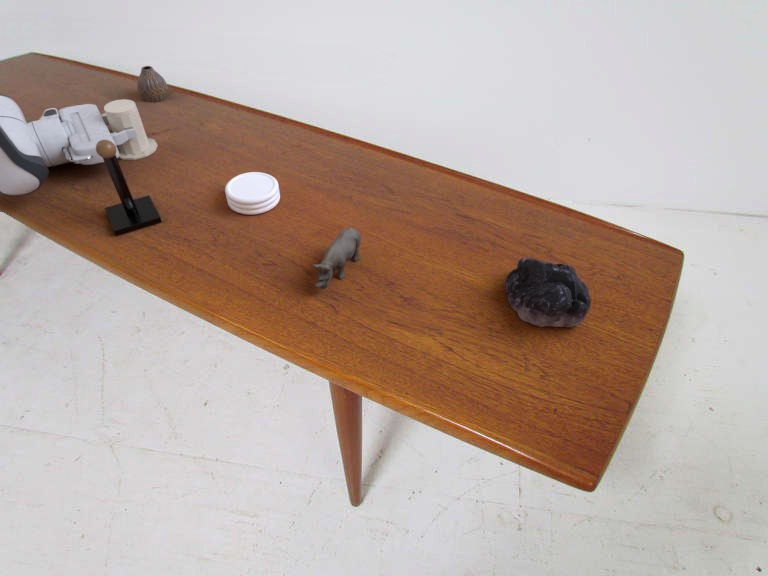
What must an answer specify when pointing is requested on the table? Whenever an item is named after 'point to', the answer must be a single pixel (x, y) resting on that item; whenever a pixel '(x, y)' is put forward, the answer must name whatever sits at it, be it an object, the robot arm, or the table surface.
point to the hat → (125, 117)
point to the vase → (152, 85)
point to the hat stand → (125, 197)
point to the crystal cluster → (547, 293)
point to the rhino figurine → (338, 256)
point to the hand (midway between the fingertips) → (131, 124)
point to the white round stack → (252, 193)
